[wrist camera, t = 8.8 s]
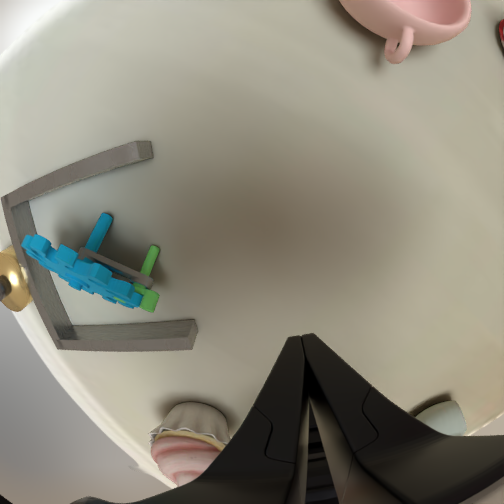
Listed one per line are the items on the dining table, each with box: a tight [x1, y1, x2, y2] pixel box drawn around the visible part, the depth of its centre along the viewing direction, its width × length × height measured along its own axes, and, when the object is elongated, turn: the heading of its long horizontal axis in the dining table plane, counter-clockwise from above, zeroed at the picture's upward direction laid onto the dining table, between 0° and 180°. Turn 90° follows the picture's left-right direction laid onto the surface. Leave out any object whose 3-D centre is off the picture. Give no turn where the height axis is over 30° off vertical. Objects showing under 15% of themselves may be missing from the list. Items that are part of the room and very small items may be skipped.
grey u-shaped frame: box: [0, 141, 198, 352], centre depth 19 cm, size 15×21×5 cm
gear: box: [21, 213, 160, 313], centre depth 18 cm, size 11×6×10 cm
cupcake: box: [148, 402, 230, 487], centre depth 23 cm, size 9×9×10 cm
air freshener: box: [415, 401, 467, 436], centre depth 24 cm, size 11×8×10 cm
